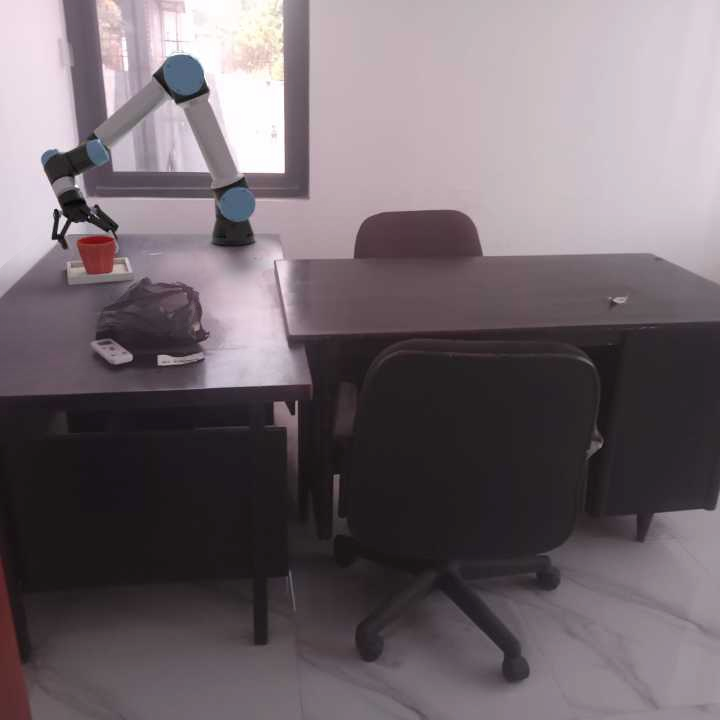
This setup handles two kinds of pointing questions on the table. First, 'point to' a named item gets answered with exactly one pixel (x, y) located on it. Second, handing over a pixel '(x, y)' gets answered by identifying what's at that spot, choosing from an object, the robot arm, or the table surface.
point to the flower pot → (97, 254)
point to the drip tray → (80, 275)
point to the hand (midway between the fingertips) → (95, 253)
